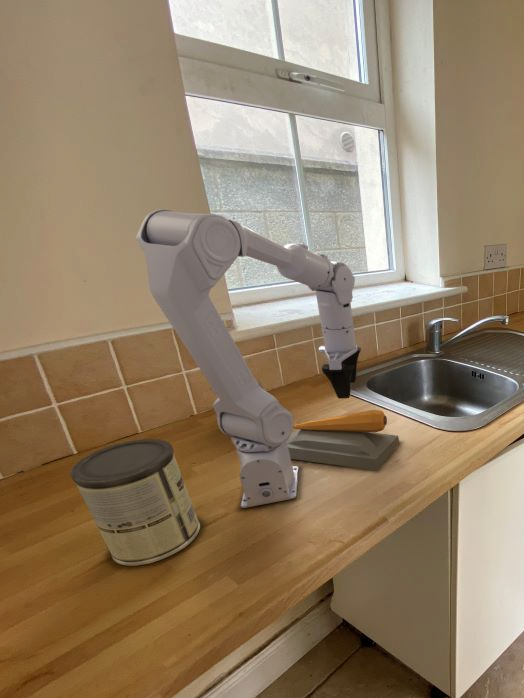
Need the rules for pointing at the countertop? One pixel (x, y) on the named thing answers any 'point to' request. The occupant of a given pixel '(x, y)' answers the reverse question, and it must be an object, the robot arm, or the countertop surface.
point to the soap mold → (342, 447)
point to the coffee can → (137, 500)
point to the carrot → (348, 422)
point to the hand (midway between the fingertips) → (347, 389)
